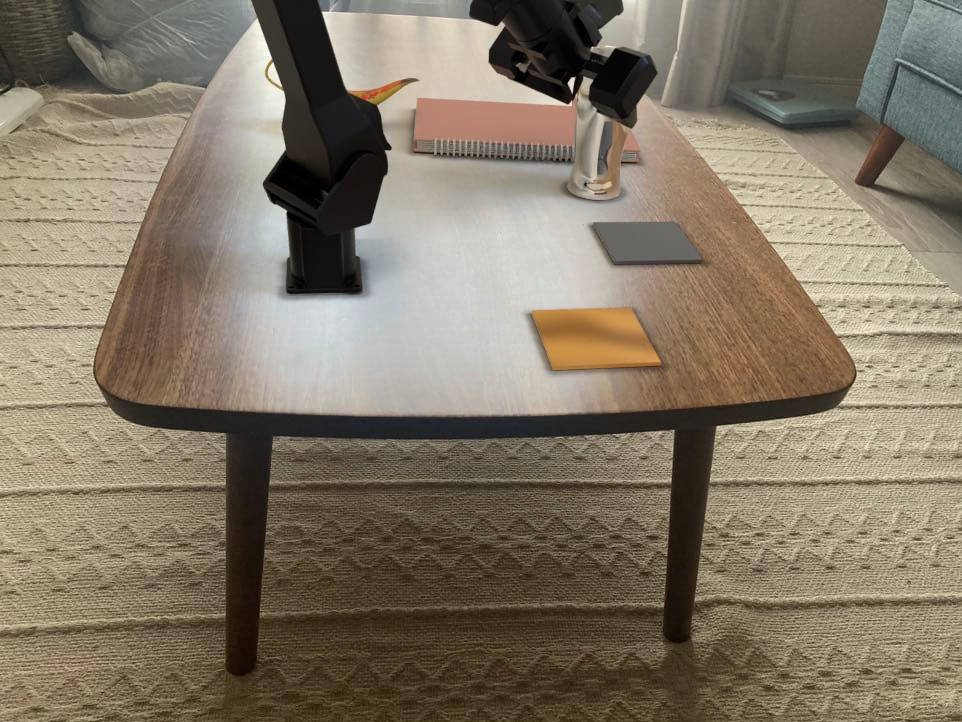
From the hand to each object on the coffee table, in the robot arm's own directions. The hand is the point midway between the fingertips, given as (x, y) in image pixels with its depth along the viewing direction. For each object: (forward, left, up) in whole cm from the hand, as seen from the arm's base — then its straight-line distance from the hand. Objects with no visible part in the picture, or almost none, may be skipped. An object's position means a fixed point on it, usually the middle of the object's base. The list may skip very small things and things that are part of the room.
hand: (601, 112), depth 100 cm
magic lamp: (+18, +27, -9) cm, 34 cm away
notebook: (+17, +5, -9) cm, 20 cm away
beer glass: (0, 0, -9) cm, 9 cm away
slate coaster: (-14, -2, -9) cm, 17 cm away
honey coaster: (-32, +8, -9) cm, 34 cm away
